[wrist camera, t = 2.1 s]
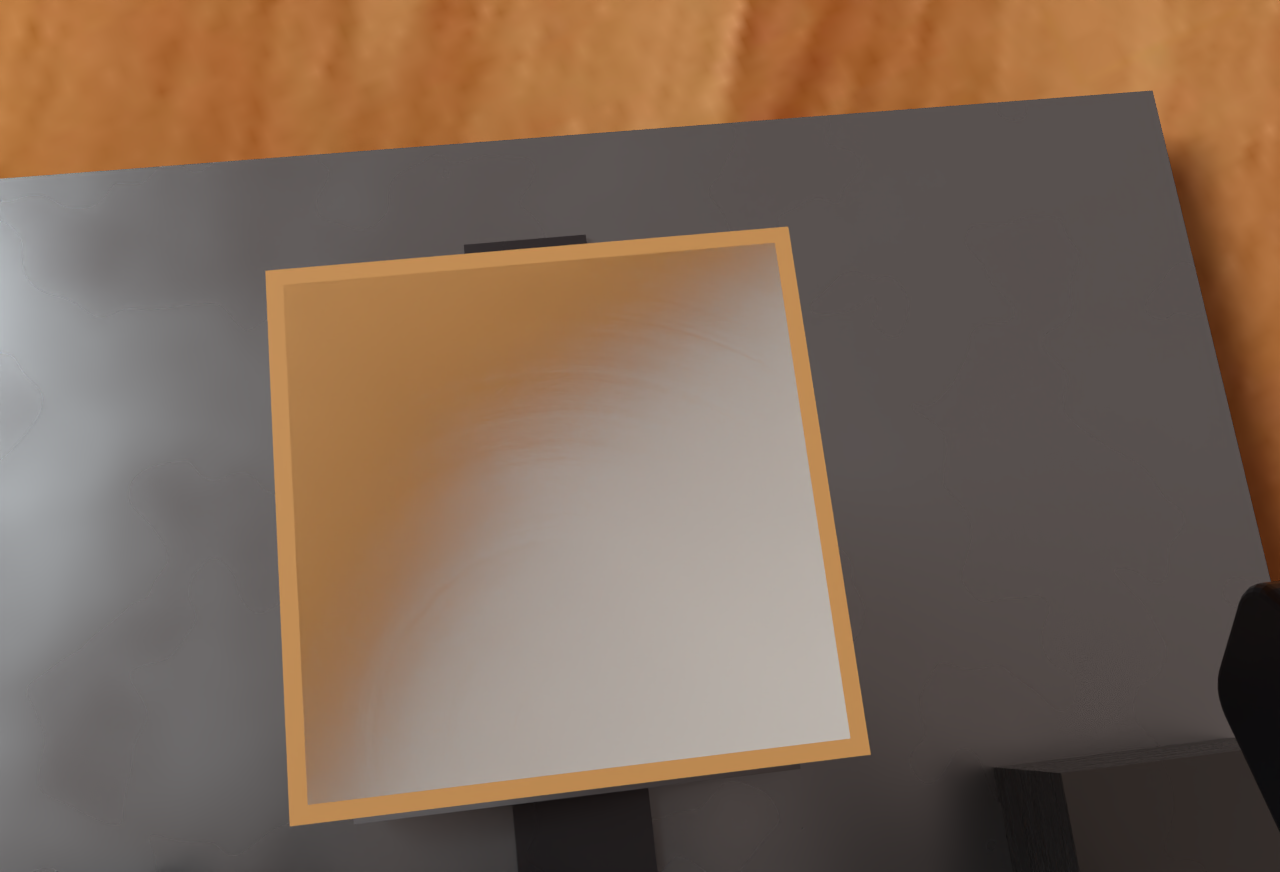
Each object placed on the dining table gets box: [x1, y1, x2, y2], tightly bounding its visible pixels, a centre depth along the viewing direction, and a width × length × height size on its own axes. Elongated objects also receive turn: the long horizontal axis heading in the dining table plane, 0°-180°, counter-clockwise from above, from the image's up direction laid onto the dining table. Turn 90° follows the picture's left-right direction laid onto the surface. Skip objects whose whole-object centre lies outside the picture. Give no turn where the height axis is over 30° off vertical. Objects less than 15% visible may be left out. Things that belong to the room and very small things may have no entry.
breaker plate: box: [0, 91, 1280, 872], centre depth 14 cm, size 15×18×4 cm
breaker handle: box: [265, 227, 871, 826], centre depth 10 cm, size 4×5×8 cm
